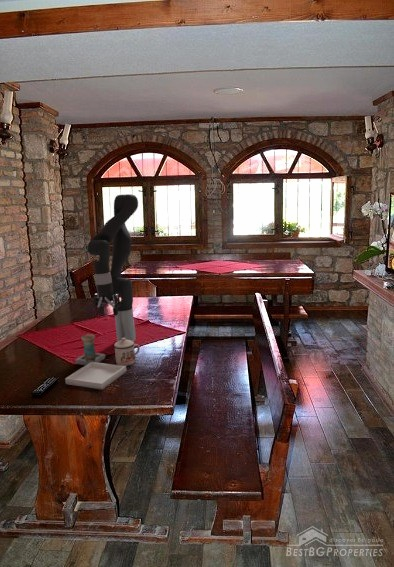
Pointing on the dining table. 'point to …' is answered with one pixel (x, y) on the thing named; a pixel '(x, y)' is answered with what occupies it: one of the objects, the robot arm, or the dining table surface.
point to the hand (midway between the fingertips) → (108, 314)
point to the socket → (85, 362)
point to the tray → (96, 375)
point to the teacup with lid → (125, 352)
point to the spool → (89, 346)
